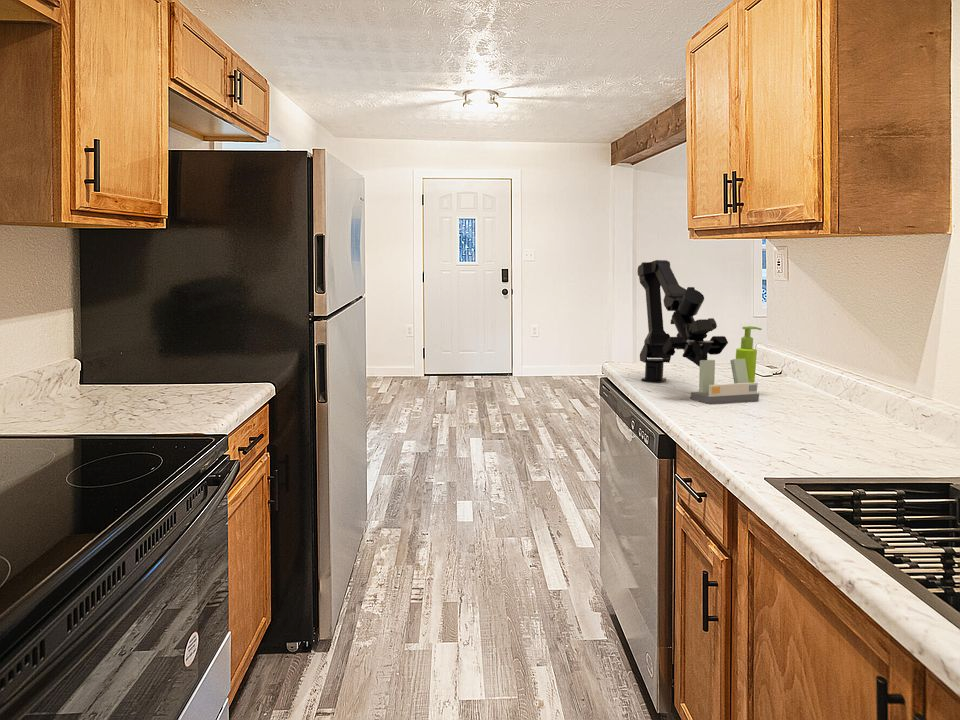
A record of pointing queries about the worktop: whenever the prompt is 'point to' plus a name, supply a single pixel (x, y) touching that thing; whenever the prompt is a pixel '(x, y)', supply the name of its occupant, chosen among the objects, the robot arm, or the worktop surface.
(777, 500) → the worktop surface
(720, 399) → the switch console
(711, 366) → the flip switch
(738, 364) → the hold switch
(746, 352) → the soap dispenser
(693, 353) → the robot arm
